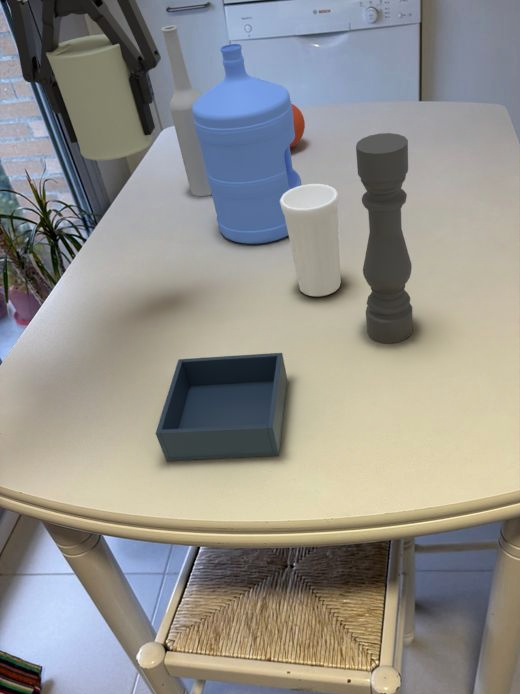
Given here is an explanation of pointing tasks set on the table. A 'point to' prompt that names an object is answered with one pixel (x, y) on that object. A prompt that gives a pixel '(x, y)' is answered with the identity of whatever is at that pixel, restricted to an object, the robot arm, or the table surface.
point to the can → (99, 97)
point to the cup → (314, 236)
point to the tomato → (297, 125)
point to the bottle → (185, 116)
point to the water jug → (247, 151)
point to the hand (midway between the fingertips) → (113, 134)
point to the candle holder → (385, 236)
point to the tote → (224, 408)
